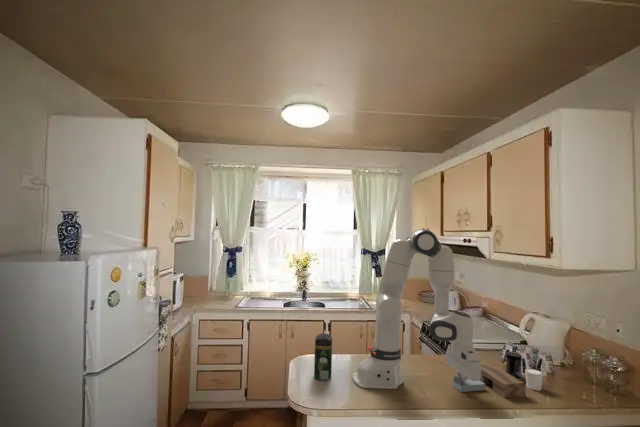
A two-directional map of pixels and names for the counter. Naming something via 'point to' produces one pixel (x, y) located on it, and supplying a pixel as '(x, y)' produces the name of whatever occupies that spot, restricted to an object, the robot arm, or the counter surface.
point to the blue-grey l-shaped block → (468, 385)
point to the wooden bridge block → (502, 382)
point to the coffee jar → (323, 357)
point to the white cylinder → (534, 379)
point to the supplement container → (514, 364)
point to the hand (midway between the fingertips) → (461, 382)
